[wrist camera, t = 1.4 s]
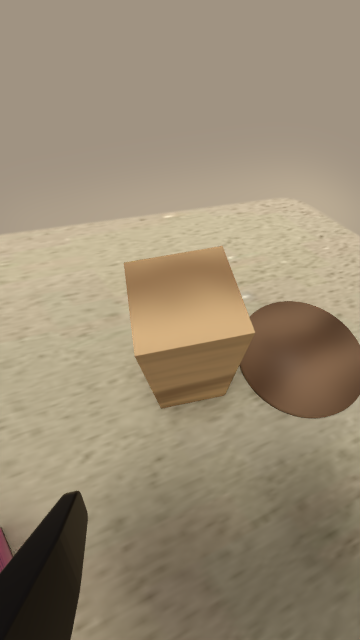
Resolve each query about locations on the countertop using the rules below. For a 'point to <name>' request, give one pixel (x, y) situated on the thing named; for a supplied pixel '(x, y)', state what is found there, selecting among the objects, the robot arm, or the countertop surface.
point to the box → (4, 552)
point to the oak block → (187, 324)
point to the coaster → (302, 360)
